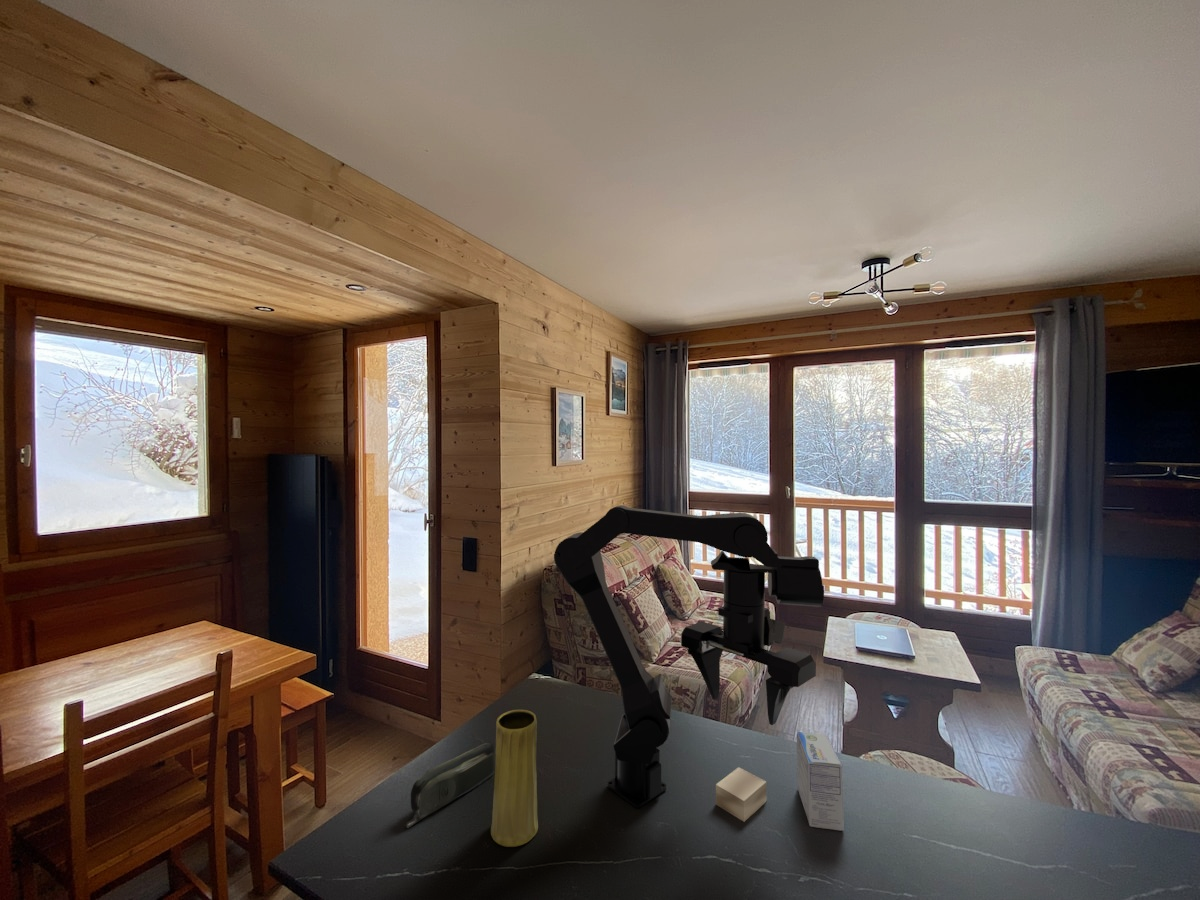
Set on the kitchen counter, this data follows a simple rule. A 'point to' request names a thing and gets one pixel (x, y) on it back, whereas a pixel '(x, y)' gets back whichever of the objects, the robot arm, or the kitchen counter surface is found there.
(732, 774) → the beech block
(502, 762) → the vase
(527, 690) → the kitchen counter surface
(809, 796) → the medicine box
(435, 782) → the stapler
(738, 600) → the robot arm
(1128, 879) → the kitchen counter surface
